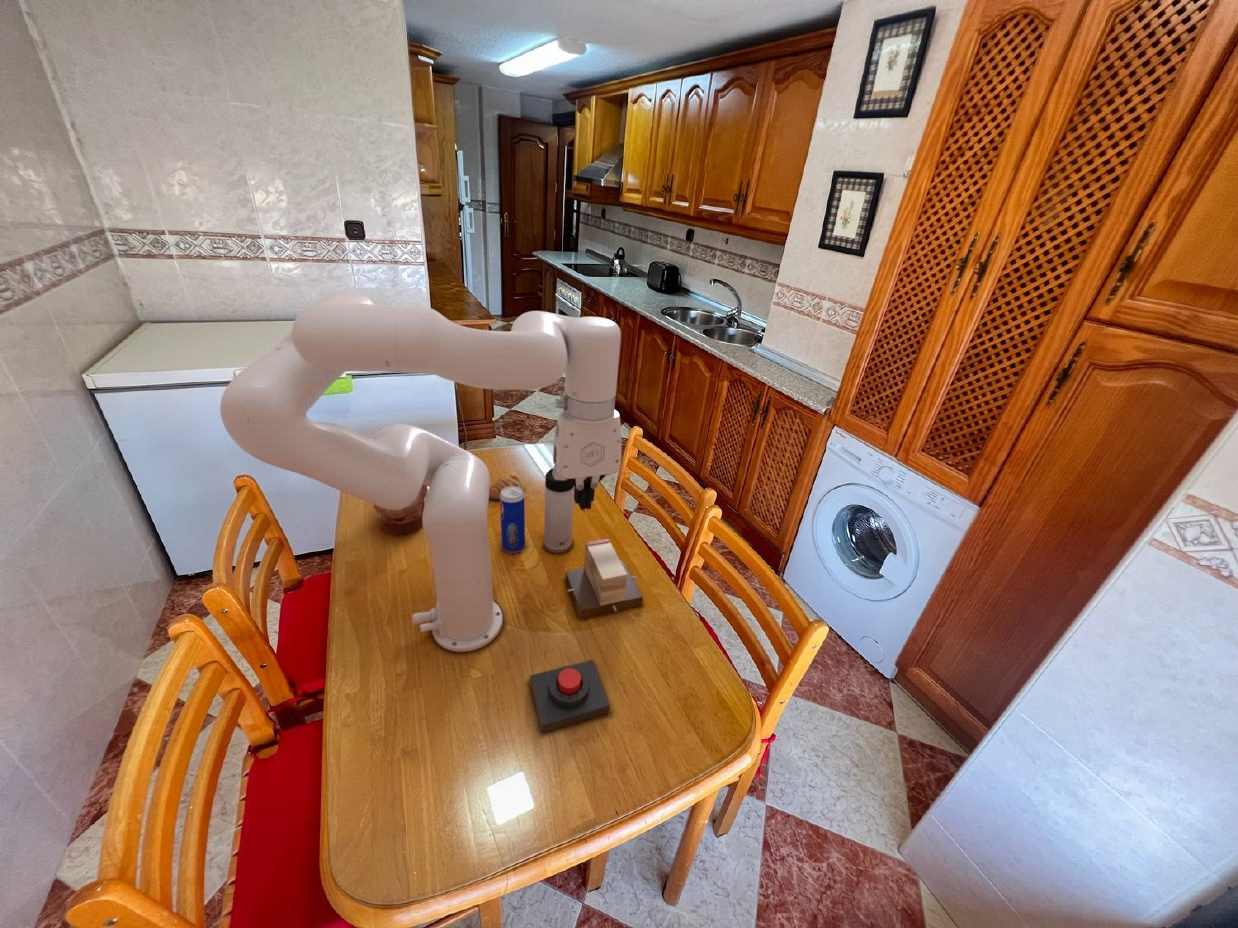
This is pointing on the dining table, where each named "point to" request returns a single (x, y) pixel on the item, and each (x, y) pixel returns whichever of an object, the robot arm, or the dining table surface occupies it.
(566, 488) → the travel mug
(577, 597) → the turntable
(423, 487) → the decorative planter
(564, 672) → the button
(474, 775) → the dining table surface
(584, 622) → the dining table surface
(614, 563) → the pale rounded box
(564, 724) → the button block
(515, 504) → the beverage can
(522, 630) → the dining table surface
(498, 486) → the pastry
